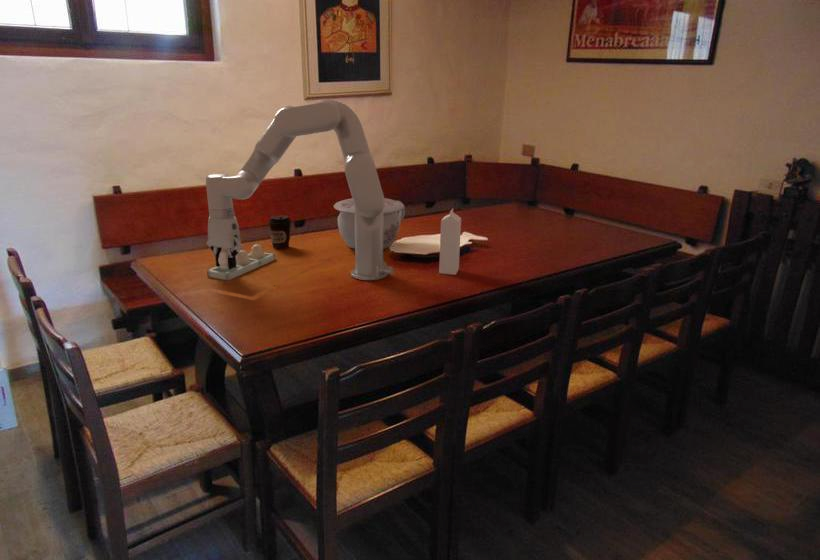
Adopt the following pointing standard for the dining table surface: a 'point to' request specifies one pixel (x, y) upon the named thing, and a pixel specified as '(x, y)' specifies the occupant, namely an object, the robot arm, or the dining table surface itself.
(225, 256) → the white egg shape
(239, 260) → the brown egg middle
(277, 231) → the coffee cup
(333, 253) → the dining table surface
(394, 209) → the chamber pot
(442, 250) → the milk
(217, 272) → the egg carton
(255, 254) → the brown egg end
